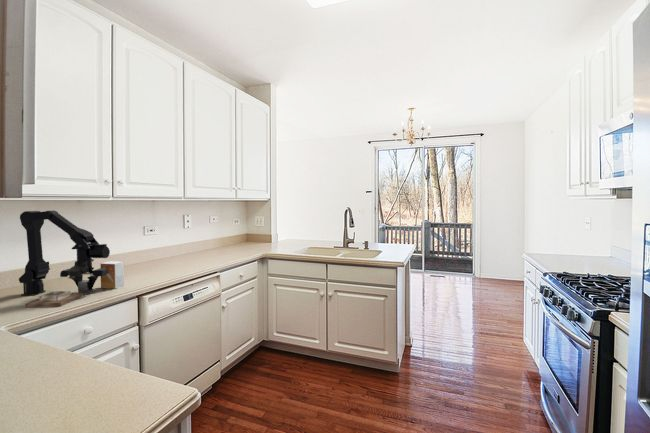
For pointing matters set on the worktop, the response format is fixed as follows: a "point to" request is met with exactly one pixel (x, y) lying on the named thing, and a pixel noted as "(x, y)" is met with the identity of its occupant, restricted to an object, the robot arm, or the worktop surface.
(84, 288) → the steel pin
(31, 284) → the robot arm
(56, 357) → the worktop surface
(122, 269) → the small box
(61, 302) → the holder board
